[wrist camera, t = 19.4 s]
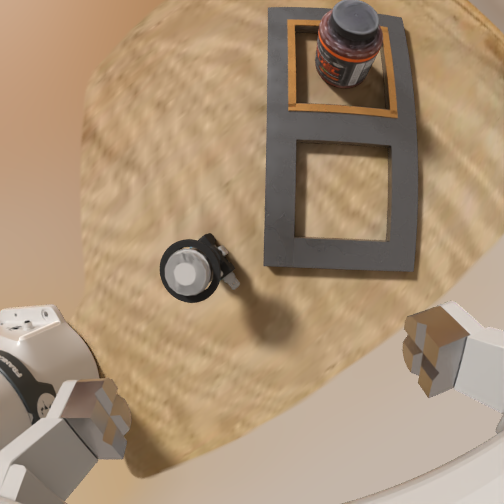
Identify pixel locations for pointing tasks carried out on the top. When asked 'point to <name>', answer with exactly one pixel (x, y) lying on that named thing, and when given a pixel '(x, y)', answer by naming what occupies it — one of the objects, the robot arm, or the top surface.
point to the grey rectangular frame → (338, 132)
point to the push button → (195, 269)
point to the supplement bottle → (348, 43)
